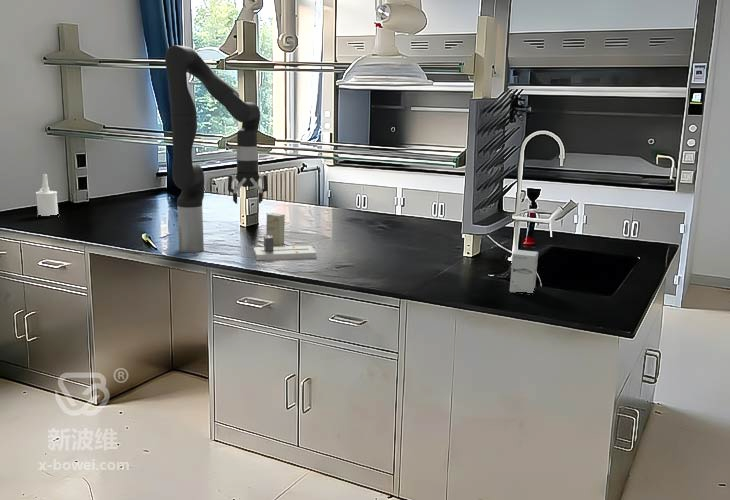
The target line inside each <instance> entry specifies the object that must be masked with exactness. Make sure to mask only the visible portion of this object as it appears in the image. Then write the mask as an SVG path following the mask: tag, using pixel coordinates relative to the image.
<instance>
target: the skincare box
mask: <svg viewBox="0 0 730 500" xmlns="http://www.w3.org/2000/svg"><path fill="white" fill-rule="evenodd" d="M285 218H286V215H285V214H284V213H283V214H282V213H274V212H271V213H267V214H266V231H265V233H266V235H272V237H273V246H276V247H279V246H281V245H285V228H286V227H285V225H286V224H285V222H286V221H285V220H286V219H285Z"/></svg>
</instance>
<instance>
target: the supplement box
mask: <svg viewBox="0 0 730 500" xmlns="http://www.w3.org/2000/svg"><path fill="white" fill-rule="evenodd" d="M511 256H512V257H511V258H512V259H511V266H510V267H511V269H510V279H509V280H510V281H509V282H510V283H509V291H510V292H509V293H516V292H527V293H533V294H534V292H535V290H534V288H535V289H536V281H537V271H538V270H537V269H538V259H539V251H533V250H524V249H523V250H522V249H515V250H514V251H513V253H512V255H511ZM533 291H534V292H533Z"/></svg>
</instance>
